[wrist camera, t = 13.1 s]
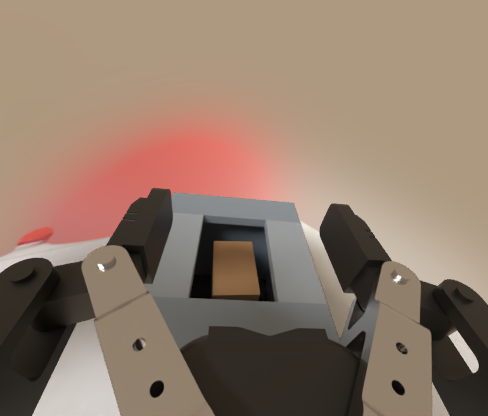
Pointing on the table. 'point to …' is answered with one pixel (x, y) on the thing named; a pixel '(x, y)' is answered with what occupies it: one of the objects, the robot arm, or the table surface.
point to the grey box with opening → (266, 259)
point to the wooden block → (234, 271)
